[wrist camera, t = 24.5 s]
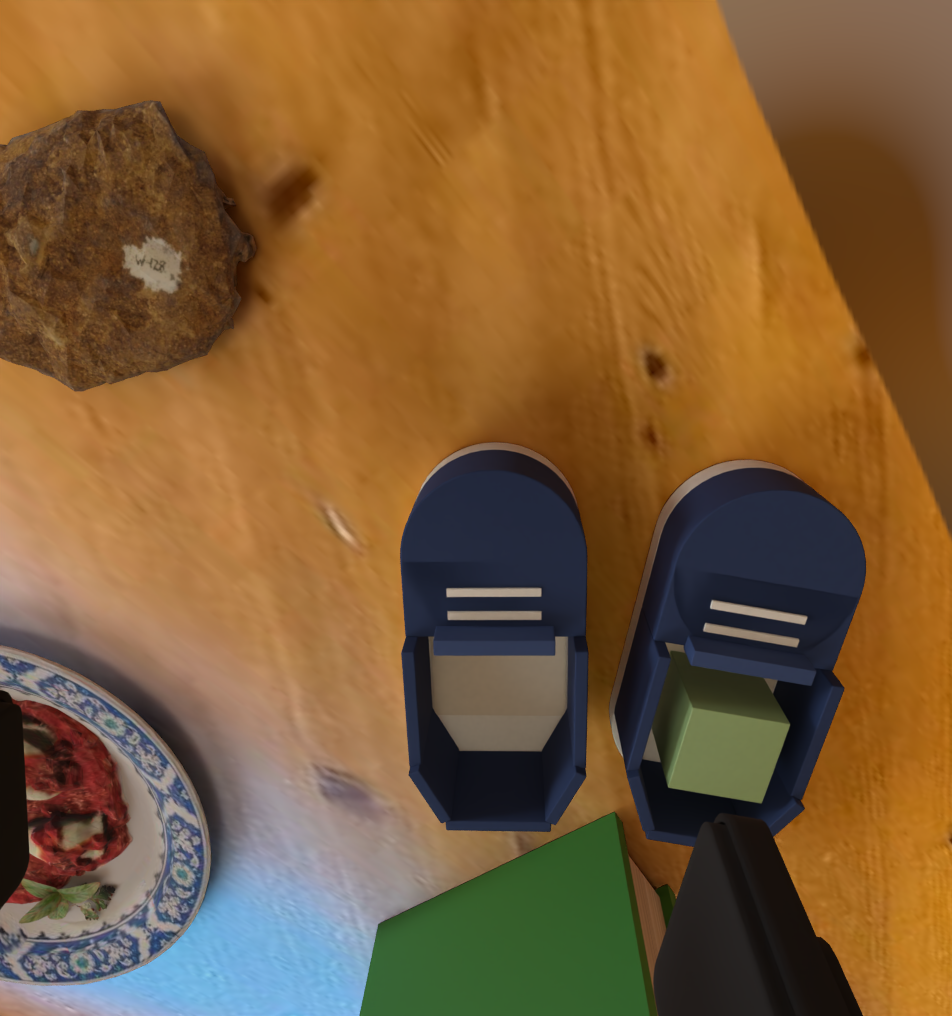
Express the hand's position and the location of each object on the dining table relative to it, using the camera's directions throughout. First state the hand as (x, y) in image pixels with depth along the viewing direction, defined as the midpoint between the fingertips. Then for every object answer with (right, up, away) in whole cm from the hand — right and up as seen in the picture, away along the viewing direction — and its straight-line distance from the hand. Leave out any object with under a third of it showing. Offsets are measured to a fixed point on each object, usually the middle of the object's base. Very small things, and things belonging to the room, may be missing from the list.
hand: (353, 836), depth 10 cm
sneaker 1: (+3, -1, +30) cm, 30 cm away
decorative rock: (-16, +16, +25) cm, 34 cm away
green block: (+14, -5, +30) cm, 33 cm away
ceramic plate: (-27, -14, +37) cm, 48 cm away
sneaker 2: (+14, -2, +30) cm, 33 cm away
